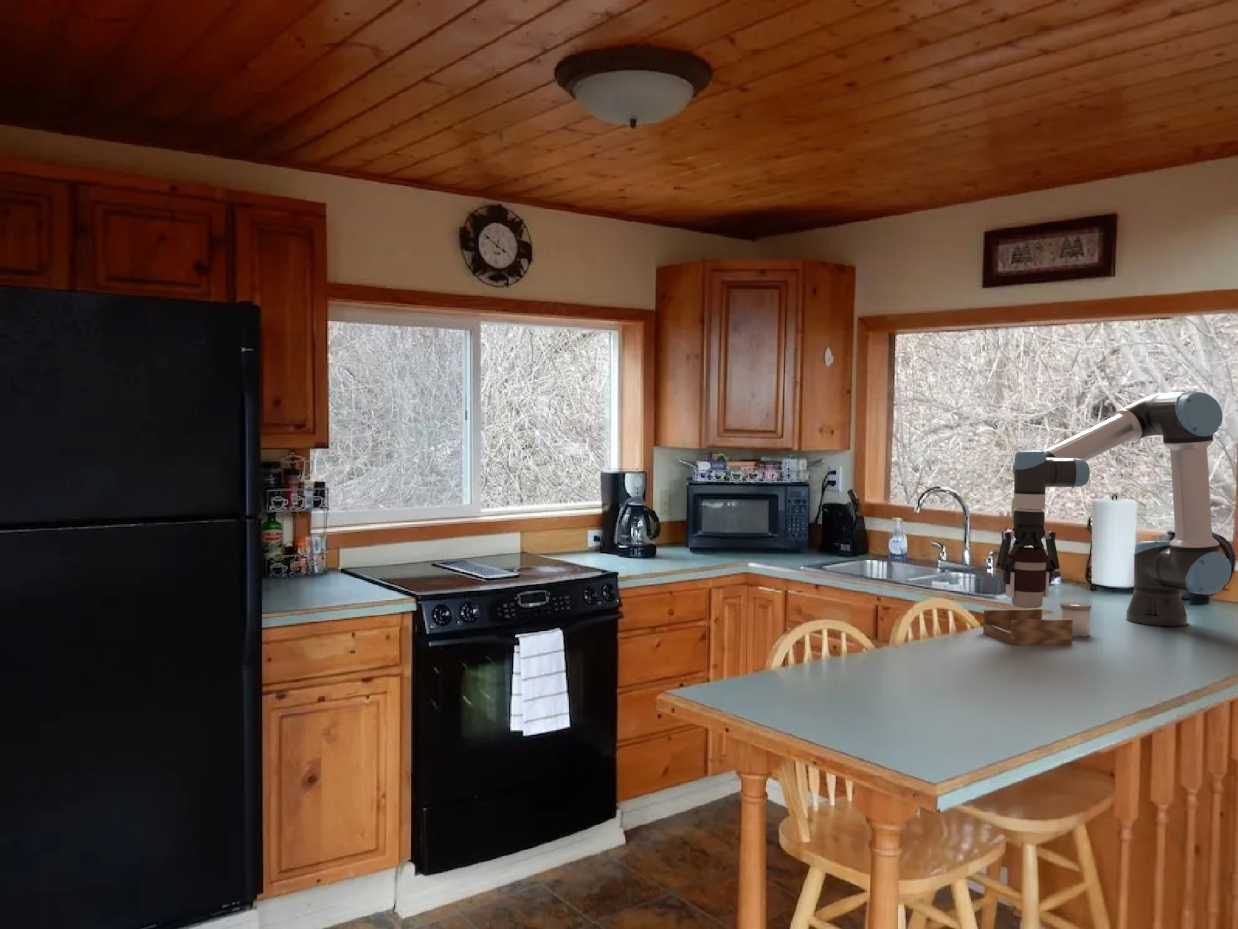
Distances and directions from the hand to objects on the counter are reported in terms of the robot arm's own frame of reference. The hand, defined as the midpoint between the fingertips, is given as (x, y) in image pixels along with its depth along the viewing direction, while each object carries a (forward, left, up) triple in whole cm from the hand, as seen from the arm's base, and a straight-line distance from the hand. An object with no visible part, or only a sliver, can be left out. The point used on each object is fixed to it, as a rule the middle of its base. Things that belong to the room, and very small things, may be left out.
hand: (1027, 596), depth 253 cm
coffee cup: (0, 0, -3) cm, 3 cm away
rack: (0, 0, -11) cm, 11 cm away
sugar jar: (-16, -4, -11) cm, 20 cm away
